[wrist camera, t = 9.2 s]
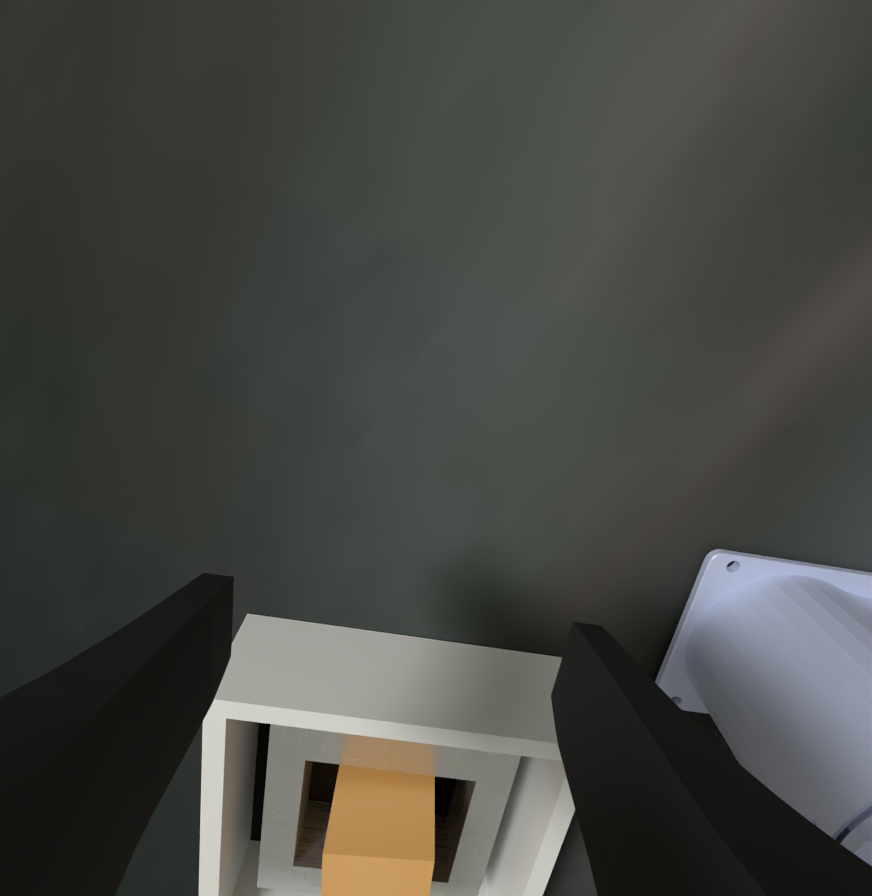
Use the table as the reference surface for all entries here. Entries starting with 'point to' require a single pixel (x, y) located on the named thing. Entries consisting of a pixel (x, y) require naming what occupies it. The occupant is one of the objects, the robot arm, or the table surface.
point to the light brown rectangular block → (380, 834)
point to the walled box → (382, 733)
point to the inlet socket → (294, 749)
